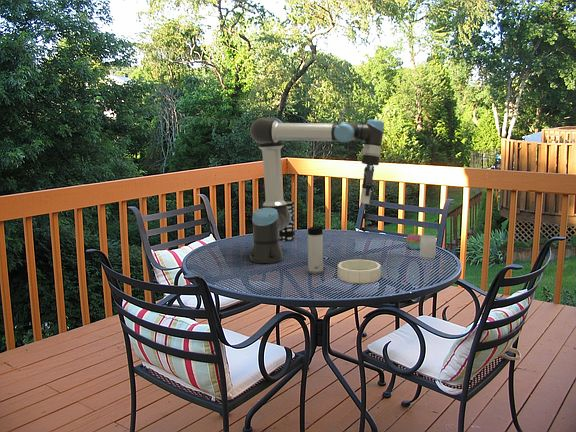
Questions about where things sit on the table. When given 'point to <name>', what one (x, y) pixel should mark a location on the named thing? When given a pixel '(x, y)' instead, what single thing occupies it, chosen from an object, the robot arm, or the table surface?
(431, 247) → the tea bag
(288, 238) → the white-spotted black cylinder
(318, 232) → the travel mug
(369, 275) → the bowl
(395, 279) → the table surface
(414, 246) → the cupcake
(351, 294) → the table surface
